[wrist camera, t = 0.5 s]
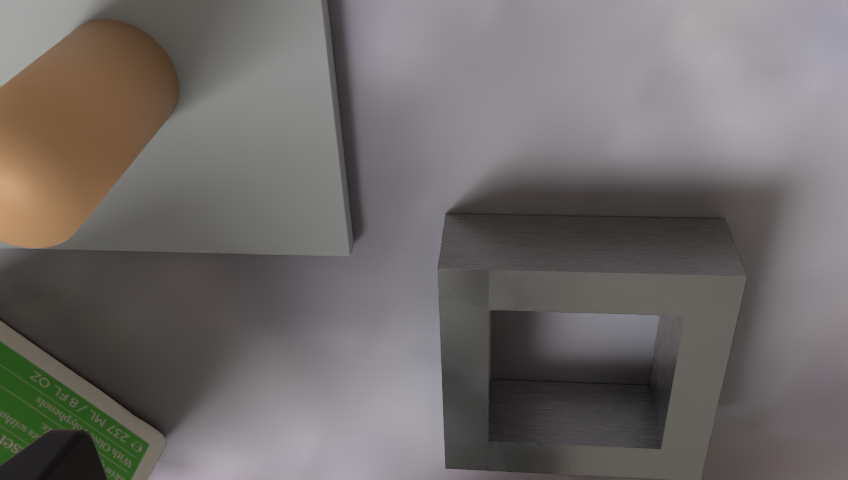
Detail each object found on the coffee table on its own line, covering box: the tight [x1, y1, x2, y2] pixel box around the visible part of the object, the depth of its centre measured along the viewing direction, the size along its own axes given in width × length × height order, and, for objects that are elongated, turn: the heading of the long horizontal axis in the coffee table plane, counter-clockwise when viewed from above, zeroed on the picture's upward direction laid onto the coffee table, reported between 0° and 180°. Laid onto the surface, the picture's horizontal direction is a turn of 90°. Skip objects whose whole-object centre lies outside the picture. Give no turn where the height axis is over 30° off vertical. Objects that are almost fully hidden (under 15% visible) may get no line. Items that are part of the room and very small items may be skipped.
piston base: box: [0, 0, 354, 257], centre depth 17 cm, size 10×10×6 cm
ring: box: [438, 214, 747, 480], centre depth 22 cm, size 7×7×2 cm
